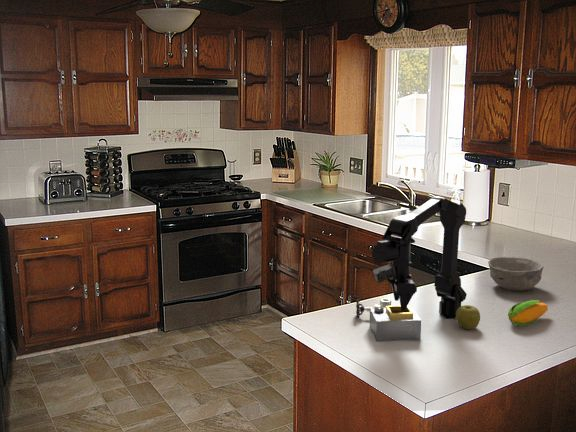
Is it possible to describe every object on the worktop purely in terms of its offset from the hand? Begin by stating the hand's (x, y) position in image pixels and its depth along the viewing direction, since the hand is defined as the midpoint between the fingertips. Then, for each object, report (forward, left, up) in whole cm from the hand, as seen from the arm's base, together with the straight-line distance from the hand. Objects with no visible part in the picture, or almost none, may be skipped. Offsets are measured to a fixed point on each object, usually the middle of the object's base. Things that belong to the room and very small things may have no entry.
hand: (399, 305), depth 200 cm
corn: (-45, -7, -10) cm, 47 cm away
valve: (+6, -15, -10) cm, 18 cm away
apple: (-23, -3, -10) cm, 26 cm away
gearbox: (+2, 0, -10) cm, 10 cm away
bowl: (-55, -43, -10) cm, 71 cm away
